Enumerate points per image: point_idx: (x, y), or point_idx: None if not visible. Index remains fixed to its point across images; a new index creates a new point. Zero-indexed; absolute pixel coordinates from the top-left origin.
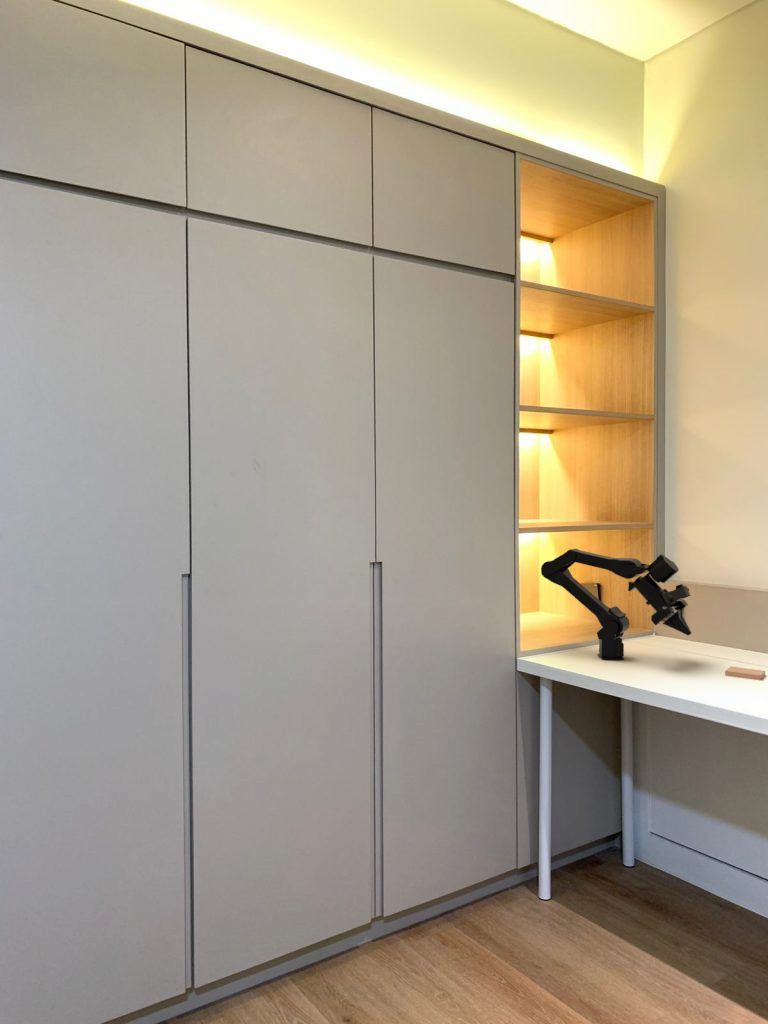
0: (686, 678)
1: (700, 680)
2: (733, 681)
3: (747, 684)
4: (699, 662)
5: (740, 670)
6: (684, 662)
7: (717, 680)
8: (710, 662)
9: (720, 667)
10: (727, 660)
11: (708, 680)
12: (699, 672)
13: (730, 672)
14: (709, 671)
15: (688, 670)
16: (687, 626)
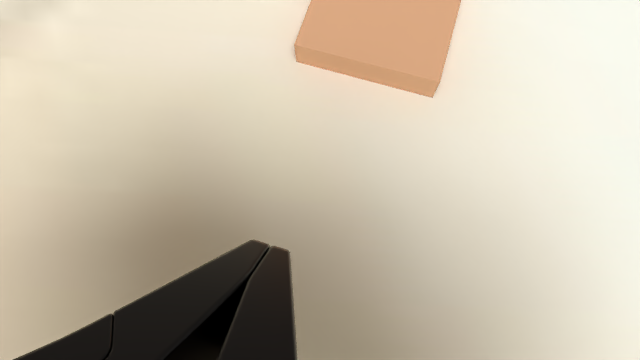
0: (603, 319)
1: (613, 235)
2: (544, 67)
3: (579, 12)
4: (95, 214)
5: (392, 7)
6: None
7: (562, 142)
8: (82, 150)
9: (211, 105)
10: (9, 57)
11: (588, 190)
12: (392, 230)
13: (444, 59)
14: (341, 170)
15: (359, 296)
16: (217, 291)
